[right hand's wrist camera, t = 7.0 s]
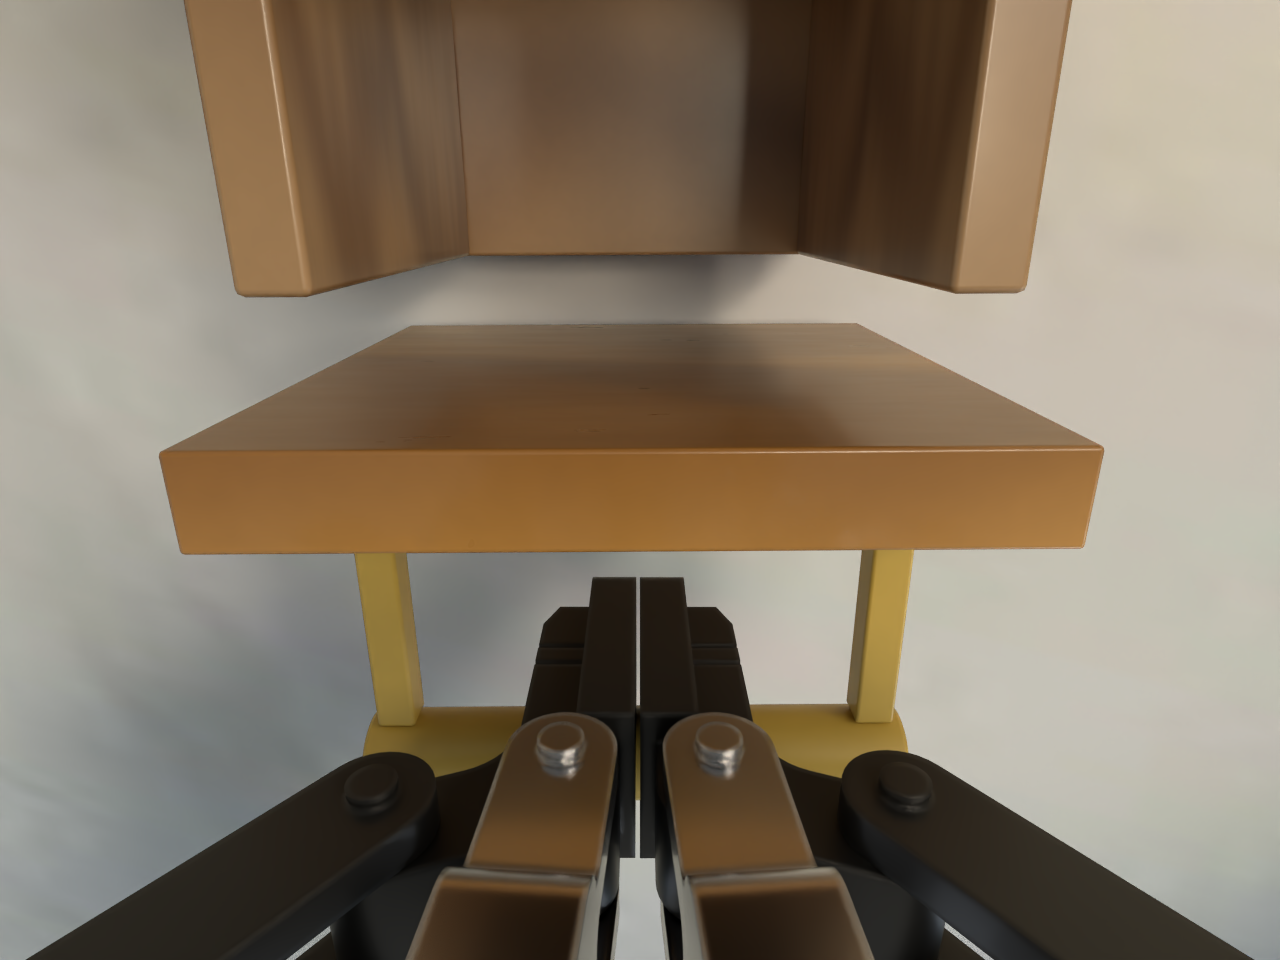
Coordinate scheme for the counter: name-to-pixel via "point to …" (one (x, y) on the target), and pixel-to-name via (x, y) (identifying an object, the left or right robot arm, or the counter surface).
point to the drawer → (630, 354)
